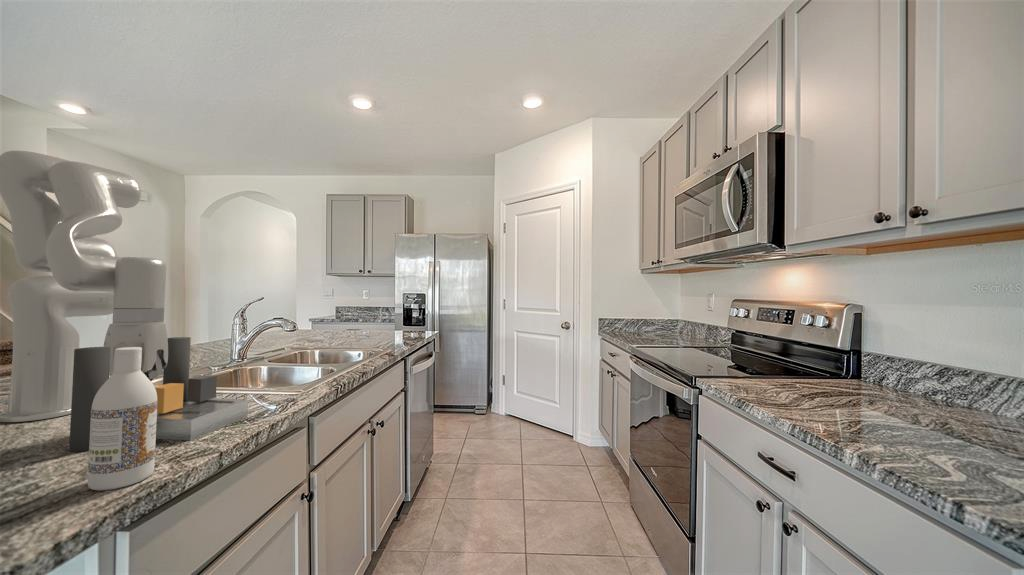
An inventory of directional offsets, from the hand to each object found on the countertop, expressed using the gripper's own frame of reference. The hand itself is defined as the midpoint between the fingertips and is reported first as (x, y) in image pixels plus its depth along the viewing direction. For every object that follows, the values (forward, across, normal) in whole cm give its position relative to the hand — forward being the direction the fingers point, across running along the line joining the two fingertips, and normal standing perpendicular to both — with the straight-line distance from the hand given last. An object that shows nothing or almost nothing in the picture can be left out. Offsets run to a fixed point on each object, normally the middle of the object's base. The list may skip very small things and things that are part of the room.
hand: (135, 405), depth 76 cm
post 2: (+5, 0, +8) cm, 10 cm away
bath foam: (+5, +20, -18) cm, 28 cm away
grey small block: (+1, +7, +8) cm, 11 cm away
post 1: (+5, +1, -8) cm, 10 cm away
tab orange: (+1, +7, 0) cm, 7 cm away
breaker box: (+5, +10, +4) cm, 12 cm away
